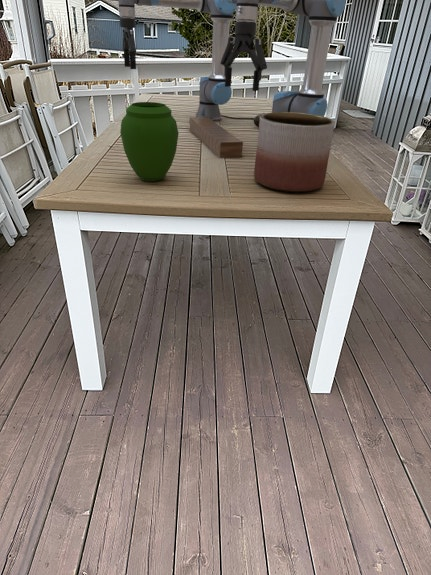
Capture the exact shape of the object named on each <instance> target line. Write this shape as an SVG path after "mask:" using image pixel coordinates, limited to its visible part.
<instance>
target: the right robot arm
mask: <svg viewBox="0 0 431 575" xmlns="http://www.w3.org/2000/svg"><path fill="white" fill-rule="evenodd" d="M226 1H227V2H228V3H233V4H236V3H237V6H236V9H235V20H236V21H235V23H234V35H235V36H229V38H228V44H227V47H226V49H225V52H224V55H223V57H222V60H221V65H224V67H225V71H224V76H225V87H229V86H230V87H232V76H233V75H232V74H233V67H232V65H233V63H234V62H235V60H236V59H237V57H238V56H239V54H240V53H247V54H248V56H249V58H250V60H251V63H252V64H253V66H254V69H255V70H253V80H252V92H256V91H257V92H259V89H260V82H261V81H262V75H263V74H262V73H263V71H264V70H267V68H268V64H267V61H266V56H265V52H264V49H263V48H264V47H263V39H262V38H260V37H259V38H258V37H257V38H256V34H257V26H258V24H257V23H256V22H257V21H258V16H259V15H258V12H259V6H260V7H268V8H278V9H281V10H283V12H285V13H286V12H287V13H292V14H296V15H300V16H305V17H308V22H309V24H310V26H311V27H310V34H309V40H308V46H307V54H306V61H305V68H304V75H303V82H302V87H301V89H299V90H283V91H276V92H275V93H274V94H273V98H272V107H271V113H272V112H295V113H306V114H313V115H319V116H323V117H325V115H326V113H327V111H328V100H327V99H326V98H325V96H324V95H325V92H324V90H323V89H322V88H323V82H324V76H325V73H326V72H325V71H326V65H327V60H328V54H329V49H330V48H329V46H330V42H331V36H332V29H333V26H334V25H335V24H336V23H337V22H338V18H339V17H341V16H342V15H343V13H344V11H345V8H346V4H347V0H226Z"/></svg>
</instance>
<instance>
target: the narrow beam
mask: <svg viewBox="0 0 431 575" xmlns="http://www.w3.org/2000/svg"><path fill="white" fill-rule="evenodd" d="M189 131H190V132H191V133H192V134H193V135H194V136H195V137H197V139H198V140H200V141H201V142H202V143H203V144H204V145H205V146H206V147H208V149H210V150H211V151H212V152H213V153H214V154H215V155H216V156H217V157H218V158H219V159H220V158H221V159H224V158H226V159H227V158H228V159H229V158H242V157H243V145H244V142H243V140H241V139H239V138H238V137H236V136H235V135H234V134H232V133H231V132H229V131H228V130H226V129H225V128H224V127H223V126H222V125H219V124H218V123H217V122H216V121H212V120H211V119H209V118H208V117H196V116H195V117H194V116H190V117H189Z"/></svg>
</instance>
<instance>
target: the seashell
mask: <svg viewBox="0 0 431 575" xmlns="http://www.w3.org/2000/svg"><path fill="white" fill-rule="evenodd" d="M262 114H266V113H265V112H262V113H259V114H257V115H256V116H255V117H253V118H254V119H252V121H253V125H254V126H255V127H257V128H259V122H260V116H261V115H262Z"/></svg>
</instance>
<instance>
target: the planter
mask: <svg viewBox="0 0 431 575" xmlns="http://www.w3.org/2000/svg"><path fill="white" fill-rule="evenodd" d="M261 114H262V113H261ZM335 124H336V122H335V120H334V119H331V118H330V117H326V116H324V117H323V116H319V115H313V114H306V113H295V112H272V111H271V112H266V113H265V114H262V115H261V116H260V122H259V127H258V131H257V132H258V134H257V142H256V149H255V150H256V151H255V158H254V170H253V178H254V180H255V181H256V182H257V183H258V184H259V185H262V186H263V187H265V188H268V189H271V190H274V191H279V192H285V193H307V192H312V191H316V190H318V189H320V188H321V187H323V186H324V184H325V180H326V175H327V171H328V164H329V158H330V153H331V152H330V151H331V147H332V141H333V135H334V130H335Z"/></svg>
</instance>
